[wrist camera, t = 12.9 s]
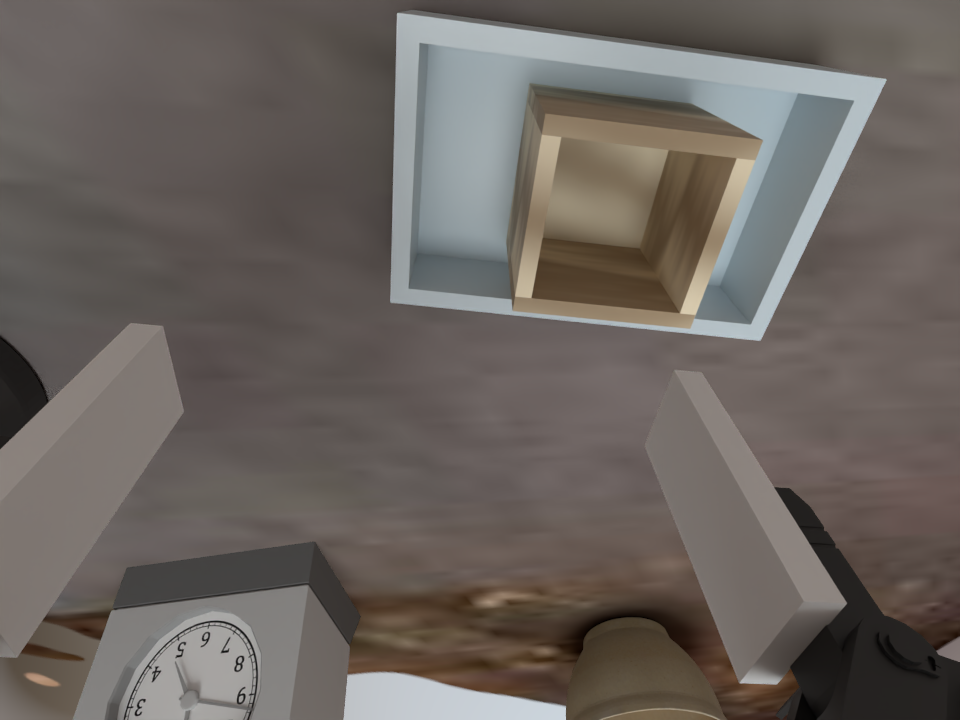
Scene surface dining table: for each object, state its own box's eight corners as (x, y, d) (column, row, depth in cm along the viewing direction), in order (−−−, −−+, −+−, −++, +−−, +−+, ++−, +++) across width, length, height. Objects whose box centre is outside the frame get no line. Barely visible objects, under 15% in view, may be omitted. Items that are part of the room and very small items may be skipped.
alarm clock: (314, 540, 52) (235, 797, 36) (367, 627, 61) (323, 866, 44) (127, 567, 55) (-30, 818, 38) (203, 646, 64) (103, 879, 47)
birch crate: (645, 256, 34) (690, 328, 27) (506, 241, 34) (512, 311, 26) (691, 103, 29) (763, 140, 22) (529, 83, 29) (545, 113, 21)
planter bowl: (535, 661, 65) (543, 768, 56) (586, 586, 56) (606, 699, 47) (656, 680, 67) (682, 785, 58) (723, 611, 59) (766, 722, 50)
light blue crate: (723, 294, 37) (760, 340, 32) (403, 259, 36) (390, 302, 31) (817, 65, 29) (887, 79, 24) (412, 9, 28) (397, 12, 23)
